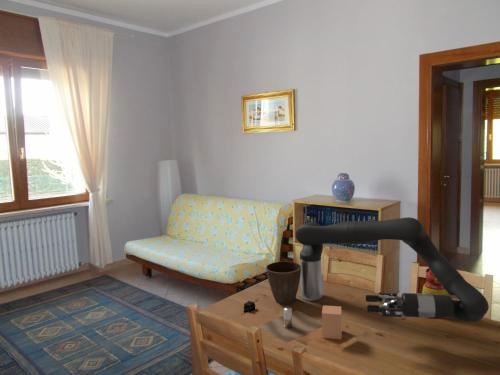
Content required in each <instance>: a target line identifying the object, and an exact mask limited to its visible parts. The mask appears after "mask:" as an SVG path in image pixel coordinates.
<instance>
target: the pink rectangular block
mask: <svg viewBox="0 0 500 375" xmlns="http://www.w3.org/2000/svg"><path fill="white" fill-rule="evenodd" d="M321 309H322V310H321V322H322V327H321V328H322V329H321V330H322V331H321V332H322V334H321V335H322V337H321V338H322V339H332V340H342V338H343V336H342V335H343V333H342V332H343V330H342V329H343V326H342V325H343V324H342V323H343V322H342V306H337V305H322V308H321Z"/></svg>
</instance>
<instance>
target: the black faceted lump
mask: <svg viewBox="0 0 500 375" xmlns="http://www.w3.org/2000/svg"><path fill="white" fill-rule="evenodd" d="M255 308H256V302H255V301H252V300H248V301H246V302H245V303H244V304H243V312H244V313H243V314H242V315H244V314H246V313H251V312H252V311H255V310H256V309H255Z"/></svg>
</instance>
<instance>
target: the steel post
mask: <svg viewBox="0 0 500 375" xmlns="http://www.w3.org/2000/svg"><path fill="white" fill-rule="evenodd" d="M292 308H293V307H290V306H285V307H283V316H284V328H286V329H290V328H292V311H293V309H292Z"/></svg>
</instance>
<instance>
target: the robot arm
mask: <svg viewBox="0 0 500 375" xmlns="http://www.w3.org/2000/svg"><path fill="white" fill-rule="evenodd" d="M295 239H296V240H297V242H298V243H299V244H301V245H302V248H301V251H300V252H299V264H300V265H301V275H300V297H301V299H303V300H305V301H310V302H311V301H312V302H313V301H318V300H321V299H322V298H323V297H324V296H325V294H324V275H323V274H322V254H323V249H324V248H323V247H324V244H326V245H327V244H333V245H367V244H371V243H374V242H377V241H381V240H395V241H396V240H397V241H401V242H403V243H404V244H405V245H407V246H408V247H410V249H412V250H413V251H415V253H416V254H417V255H418V256H419V257H420V258H421V259H422V260H423V262H424V263H425V264H426V266H427V267H428V268H429V269H430V270H431V272H432V273H433V275H434V276H435V278H436V279H437V280H438V281H439V283H440V284H441V285H442V286H443V288H444V289H445V290H446V291H447V292H448V296H446V295H430V294H422V293H418V292H417V293H415V292H413V293H412V292H403V293H401V295H400V296H401V297H398V296H397V293H396V292H378V294H366V295H365V301H366V302H367V303H377V302H378V303H379V304H380V305H378V304H367V305H366V311H367V312H368V313H376V314H378V313H379V314H381V317H389V318H393V317H394V318H401V317H405V318H426V319H430V318H429V317H433V318H440V317H441V319H444V318H451V319H452V320H456V321H462V322H466V323H475V322H479V321H481V320H482V319H483V318H484V317H485V316H486V314H487V313H488V311H489V307H490V306H489V302H488V300H487V298H486V297H485V295H484V294H482V292H481V291H480V290H478V289H477V288H476V287H474V285H472V284H471V283H469V282H468V281H467V280H465V278H464V276H462V274H461V273H460V272H459V271H458V270H457V268H456V267H455V266H454V265H453V264H452V263H451V262H450V261H449V260H448V259H447V258H446V257H445V256H444V255H443V254H442V253H441V251H440V250H439V249H438V248H437V247H436V245H435V244H434V243H433V241H432V240H431V238H430V236H429V234H428V233H427V229H426V228H425V226H424V225H423V224H422V222H420V221H419V220H418V219H417V218H415V217H402V218H401V217H400V218H393V219H386V220H354V221H353V220H352V221H343V222H339V223H333V224H329V225H320V224H319V223H318V222H317V221H308V222H306V223H303V224H301V225H300V226H298V228H297V229H296V231H295ZM450 295H451V296H455V297H456V298H457V299H453V298H452V297H451V296H450Z"/></svg>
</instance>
